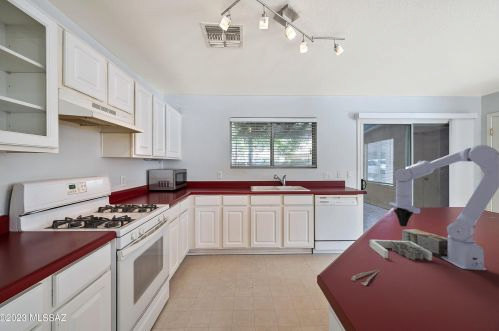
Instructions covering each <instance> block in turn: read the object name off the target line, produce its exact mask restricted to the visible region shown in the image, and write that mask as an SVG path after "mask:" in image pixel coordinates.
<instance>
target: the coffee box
mask: <svg viewBox="0 0 499 331" xmlns="http://www.w3.org/2000/svg"><path fill="white" fill-rule="evenodd" d="M401 231H402V232H401V241H411V242H413V243H415V244H417V245H419V246H420V247H422V248H424V249H426V250H428V251H430V252H432V256H435V257H437V258H441V256H445V257H447V254H448V237H445V236H441V235H437V234H434V233H431V232H429V231H428V232H427V231H424V230H420V229H418V228H414V229H413V228H412V229H409V228H408V229H402V230H401Z"/></svg>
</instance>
